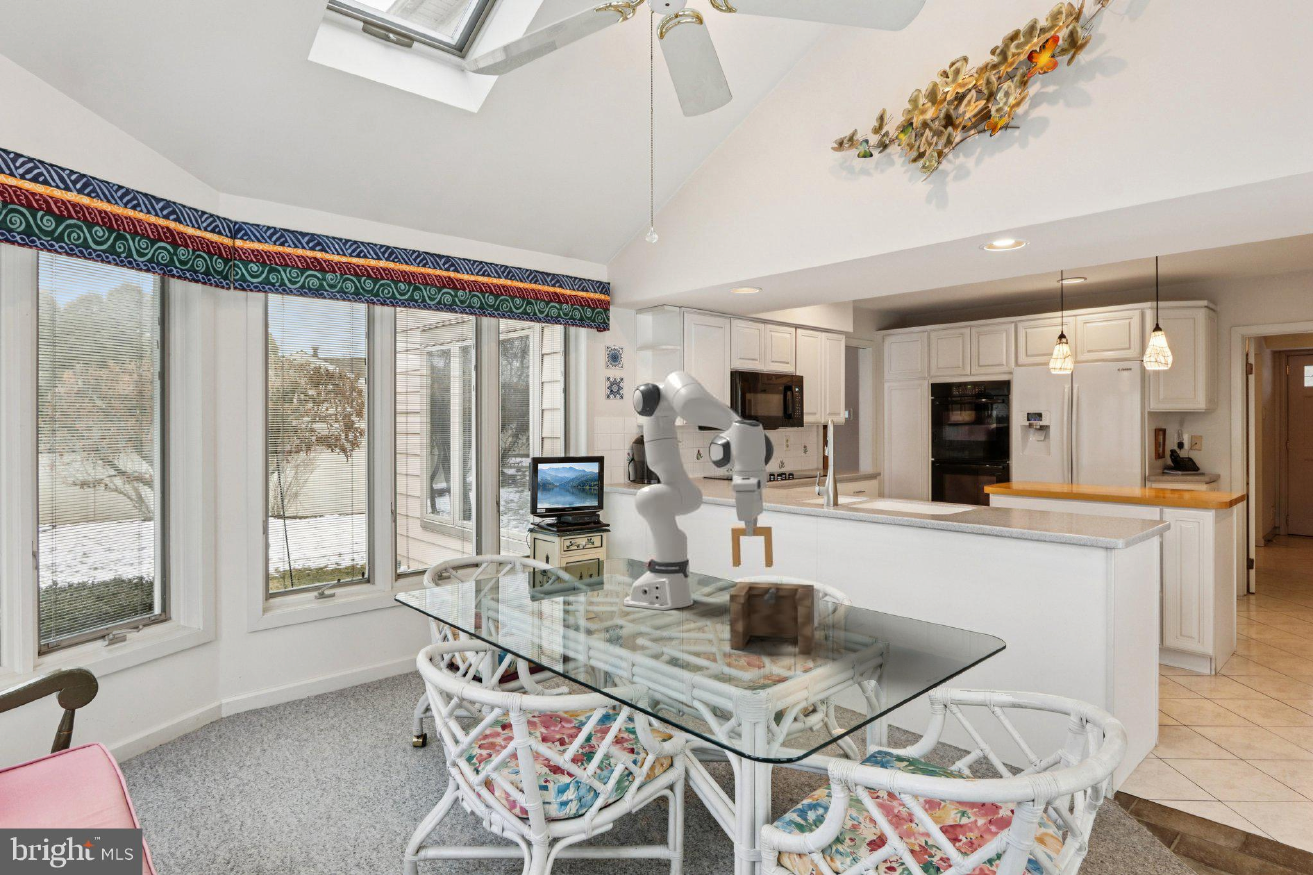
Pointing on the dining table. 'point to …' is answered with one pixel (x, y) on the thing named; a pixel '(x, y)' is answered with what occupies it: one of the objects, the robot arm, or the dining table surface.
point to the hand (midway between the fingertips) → (751, 534)
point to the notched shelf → (772, 613)
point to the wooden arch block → (758, 531)
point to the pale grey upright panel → (816, 606)
